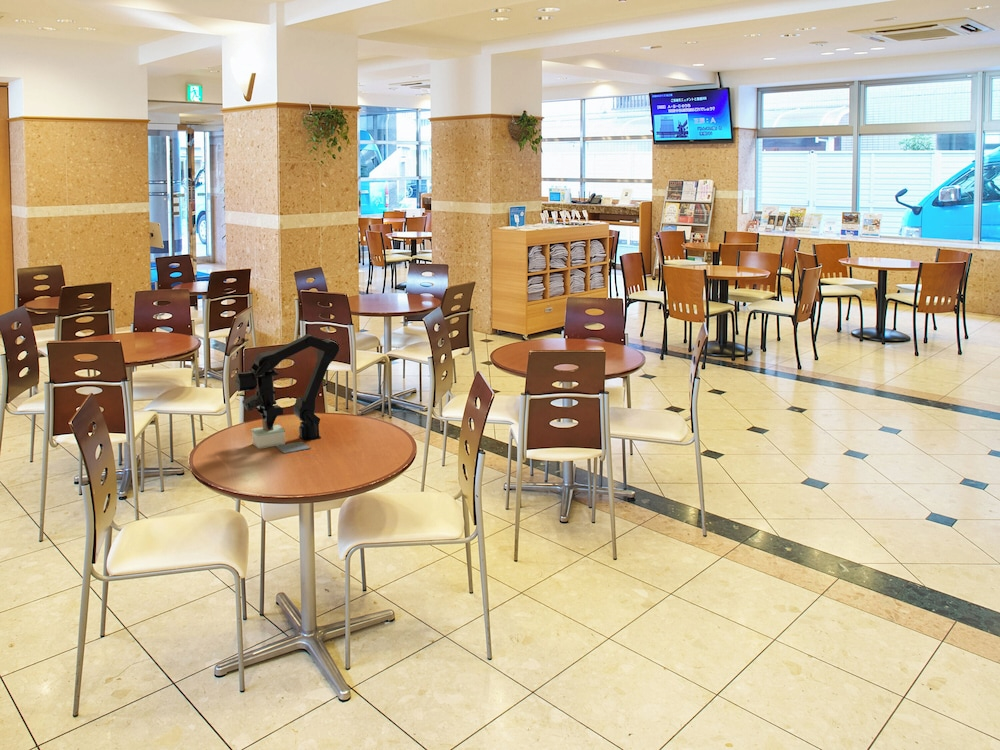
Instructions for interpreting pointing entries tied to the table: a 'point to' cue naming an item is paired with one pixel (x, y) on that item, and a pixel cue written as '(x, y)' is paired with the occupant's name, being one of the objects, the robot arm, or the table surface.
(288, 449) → the mat
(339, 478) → the table surface
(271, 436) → the caddy
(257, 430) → the lid
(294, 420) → the table surface
